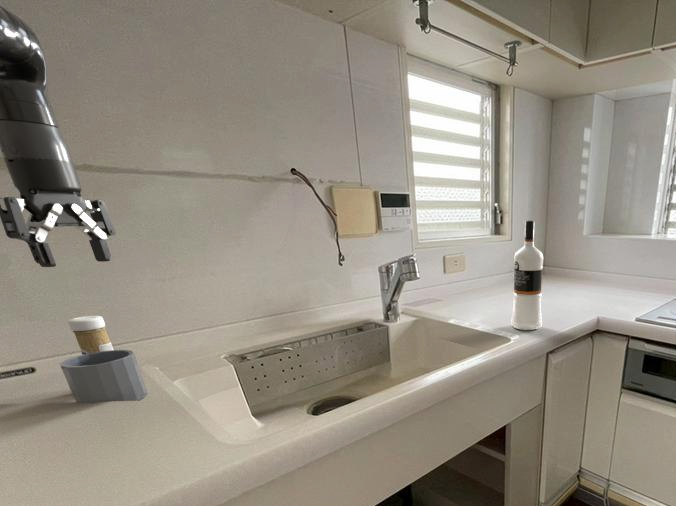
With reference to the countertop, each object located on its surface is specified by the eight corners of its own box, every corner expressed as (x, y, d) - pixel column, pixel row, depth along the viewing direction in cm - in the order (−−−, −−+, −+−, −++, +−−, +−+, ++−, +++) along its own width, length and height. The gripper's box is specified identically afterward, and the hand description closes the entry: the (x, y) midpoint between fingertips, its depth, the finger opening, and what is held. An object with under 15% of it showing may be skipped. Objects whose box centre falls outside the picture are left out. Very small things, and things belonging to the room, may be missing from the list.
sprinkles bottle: (88, 389, 76) (59, 320, 71) (111, 380, 80) (86, 314, 75) (110, 390, 76) (84, 321, 71) (132, 381, 80) (108, 315, 75)
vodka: (546, 329, 118) (551, 220, 107) (516, 331, 116) (518, 220, 105) (535, 322, 126) (539, 220, 115) (507, 324, 124) (508, 220, 113)
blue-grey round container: (62, 412, 67) (43, 367, 64) (108, 390, 76) (92, 350, 73) (121, 410, 68) (104, 366, 65) (159, 389, 77) (146, 349, 74)
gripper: (69, 163, 70) (102, 259, 76) (-44, 151, 57) (7, 268, 63) (106, 163, 69) (136, 260, 75) (0, 151, 56) (47, 269, 62)
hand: (77, 263), depth 69 cm, fingers open, 8 cm apart
